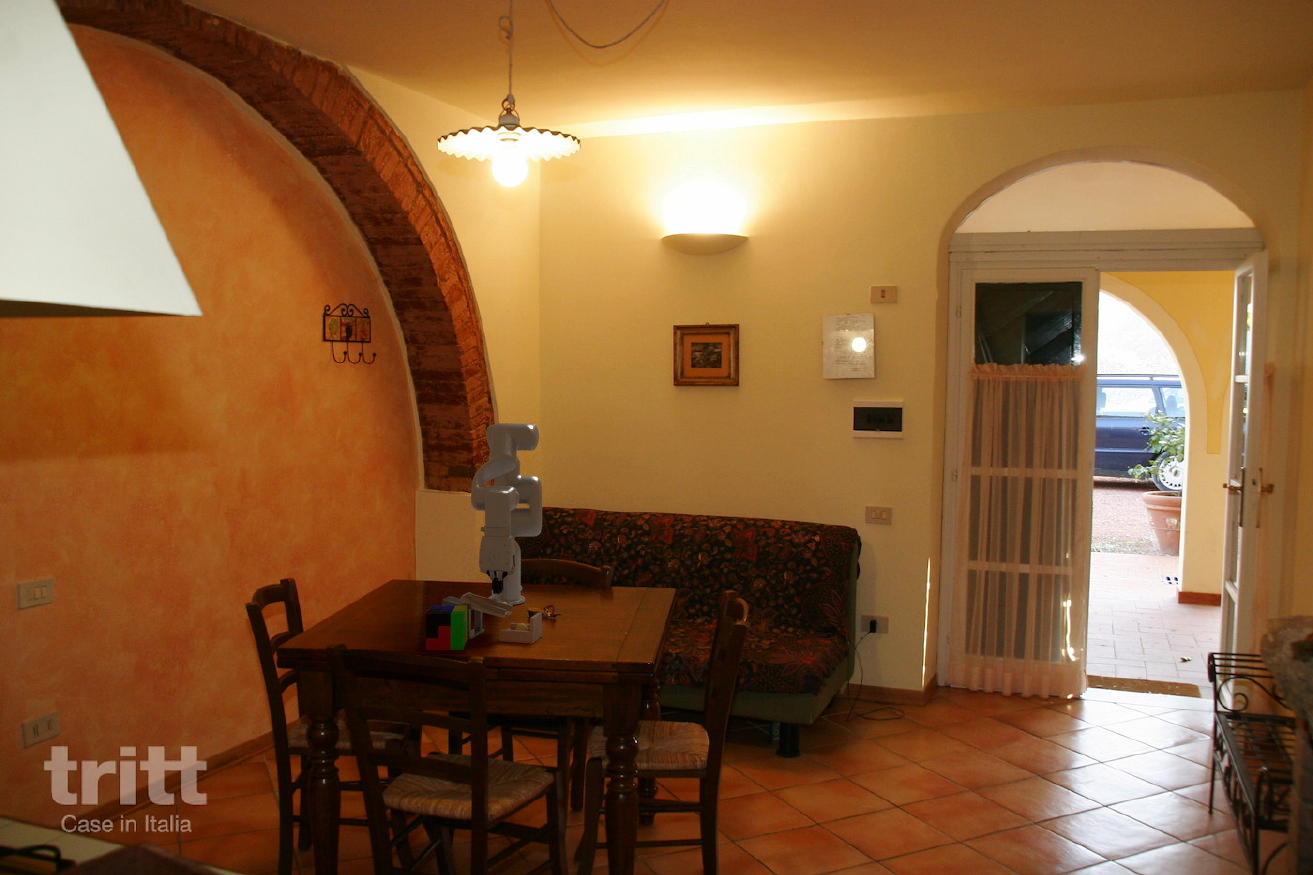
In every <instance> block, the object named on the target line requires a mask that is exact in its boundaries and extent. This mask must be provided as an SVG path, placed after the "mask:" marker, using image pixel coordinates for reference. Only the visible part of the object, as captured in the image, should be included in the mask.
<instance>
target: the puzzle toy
mask: <svg viewBox="0 0 1313 875" xmlns="http://www.w3.org/2000/svg"><path fill="white" fill-rule="evenodd" d="M467 642H468V639H467V606H442V605H431V606H430V607H429V608H428V610H427V612H426V613H425V651H455V650H456V651H460V650H461V651H463V650H464V649H465V646H466V643H467Z"/></svg>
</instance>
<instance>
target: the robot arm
mask: <svg viewBox="0 0 1313 875" xmlns="http://www.w3.org/2000/svg"><path fill="white" fill-rule="evenodd" d="M485 438H486V441H487V445H488V448H489V458H488V461H486V462H485V463H483V465H481V466H480V467H479V469H477V470H476V472H475V474H474V476H473V479H472V483H471V491H470V492H471V493H470V504H471V507H472V508H473V509H474V510H475V511H479V512H480V511H481V512H484V526H481V527H480V532H483V535H482V537H481V540H480V546H479V556H478V568H479V571H480V573H483V574H485V575H487V576H488V577H489V578H490V580H491V596H489V597H487V598H489V599H492V600H494V599H499V600H502V601H503V602H507V604H510V605H513V606H514V605H520V604H523V603H525V602H526V598H525V596H523V595H522V594H521V591H523V586H522V585H521V576H522V575H521V574H522V572H521V570H522V569H521V568H522V567H521V565H522V564H521V561H522V560H521V559H522V557H521V554H522V553H521V547H520V546H519V544H518V542H517V541H516V540H515V539H514V538H515V537H516V538H517V537H538V536H539V535H540V534H541V533H542V529H543V485H542V481H541V479H540V477H537V476H535V475H521V460H520V459H519V457H518V456H517V455H518V454H517V453H518V451H521V452H523V451H535V450H536V449H537V447H538V445H539V441H540V431H539V428H538V426H537V425H536V424H535V423H506V422H505V423H503V422H502V423H494V424H491V425H488V427H487V428H486V430H485ZM492 480H494V485H485V484H487V483H488V482H490V481H492ZM519 505H527V506H528V507H517V506H519Z"/></svg>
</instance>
